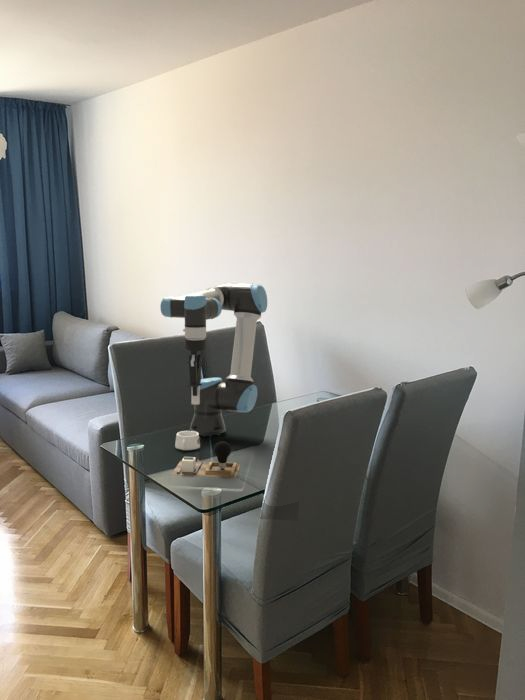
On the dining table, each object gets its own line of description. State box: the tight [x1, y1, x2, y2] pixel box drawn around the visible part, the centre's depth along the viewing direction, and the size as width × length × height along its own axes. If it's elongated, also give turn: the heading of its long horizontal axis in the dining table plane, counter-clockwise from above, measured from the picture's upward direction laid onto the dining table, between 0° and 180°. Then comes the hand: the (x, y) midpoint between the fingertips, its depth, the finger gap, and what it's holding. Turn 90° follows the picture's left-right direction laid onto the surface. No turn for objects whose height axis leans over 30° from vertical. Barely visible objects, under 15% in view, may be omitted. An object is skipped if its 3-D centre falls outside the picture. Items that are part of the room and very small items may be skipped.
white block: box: [181, 456, 197, 472], centre depth 205 cm, size 4×4×5 cm
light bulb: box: [213, 440, 232, 470], centre depth 206 cm, size 6×6×10 cm
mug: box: [174, 430, 201, 451], centre depth 231 cm, size 12×10×6 cm
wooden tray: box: [170, 460, 241, 478], centre depth 207 cm, size 14×22×2 cm, turn 86°
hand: (195, 403), depth 213 cm, fingers closed
